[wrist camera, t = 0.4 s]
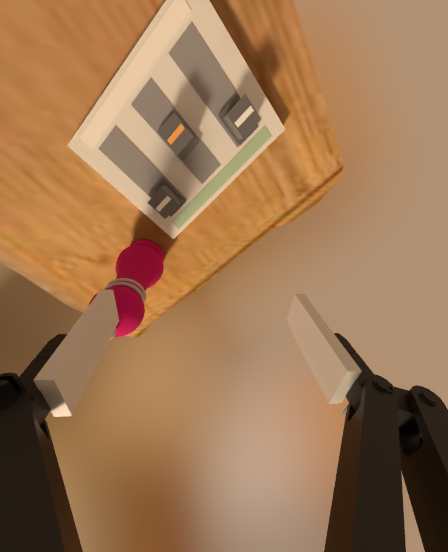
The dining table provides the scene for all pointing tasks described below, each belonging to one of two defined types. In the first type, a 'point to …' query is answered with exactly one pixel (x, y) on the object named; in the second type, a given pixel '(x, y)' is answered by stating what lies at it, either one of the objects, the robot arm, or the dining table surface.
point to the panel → (188, 106)
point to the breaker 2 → (240, 118)
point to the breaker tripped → (178, 135)
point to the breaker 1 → (165, 199)
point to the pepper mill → (134, 283)
